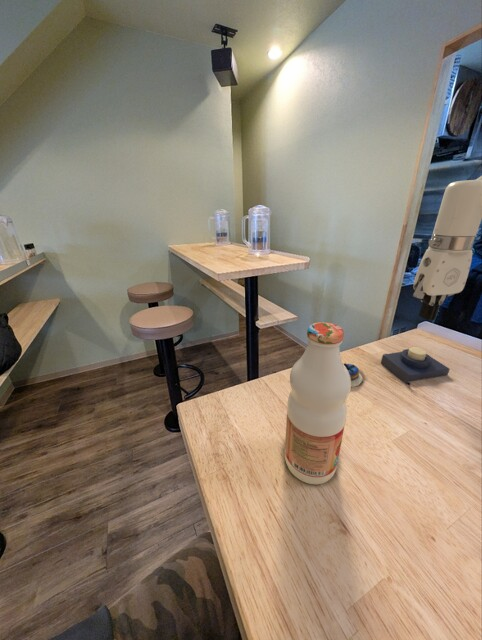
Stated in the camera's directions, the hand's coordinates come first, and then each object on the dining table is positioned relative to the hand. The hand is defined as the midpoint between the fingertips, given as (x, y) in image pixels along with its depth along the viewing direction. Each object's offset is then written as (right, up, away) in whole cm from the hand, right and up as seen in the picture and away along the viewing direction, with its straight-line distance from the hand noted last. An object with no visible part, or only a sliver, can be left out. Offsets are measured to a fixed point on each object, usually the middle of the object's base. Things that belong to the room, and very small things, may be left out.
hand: (426, 318), depth 64 cm
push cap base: (+1, -15, +7) cm, 16 cm away
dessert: (-18, -17, +5) cm, 25 cm away
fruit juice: (-34, -27, -16) cm, 47 cm away
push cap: (+1, -11, +5) cm, 12 cm away
